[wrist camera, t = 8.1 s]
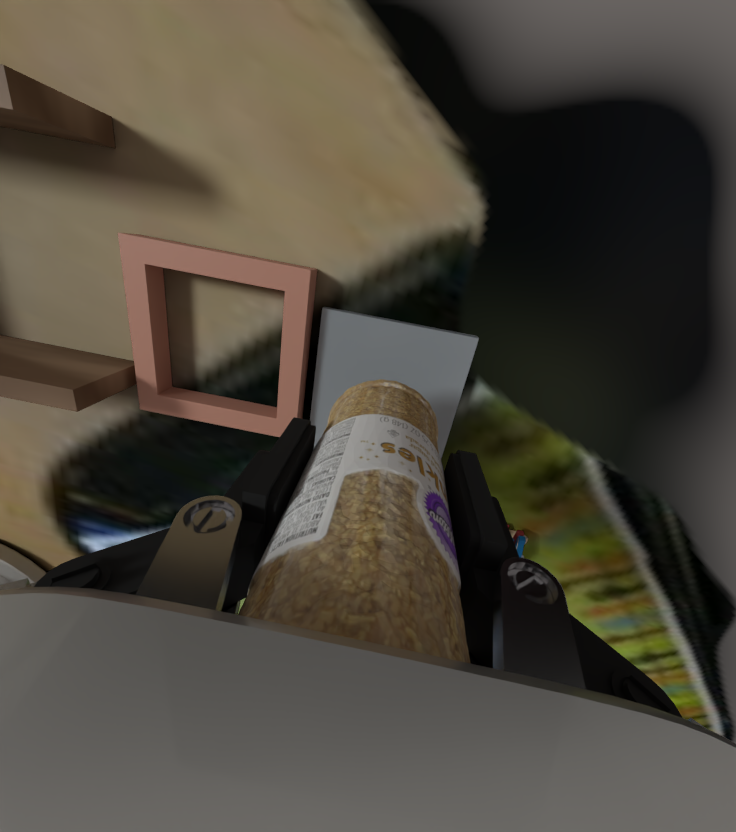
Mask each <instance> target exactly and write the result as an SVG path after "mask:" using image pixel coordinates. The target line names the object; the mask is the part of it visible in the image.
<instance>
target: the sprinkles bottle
mask: <svg viewBox="0 0 736 832" xmlns="http://www.w3.org/2000/svg"><path fill="white" fill-rule="evenodd" d="M437 440H438V425H437V419H436V415H435V413H434V411H433V409H432V408H431V406H430V403H429V402H428V401H427V400H426V399H425V398H424V397H423V396H422V395H421V394H420V393H419V392H418V391H416V390H415V389H412V388H410V387H408V386H407V385H404V384H402V383H399V382H397V381H390V380H383V379H379V380H374V381H366V382H363V383H360V384H357V385H356V386H353V387H351V388H349V389H347V390H346V391H345V392H344V393H343V395H341V396H340V397H339V398H338V399H337V401H336V402H335V403H334V405H333V407H332V409H331V411H330V414H329V418H328V425H327V427H326V429H325V431H324V433H323V435H322V437H321V438H320V439H319V441H318V442H317V444H316V446H315V448H314V450H313V452H312V454H311V456H310V458H309V460H308V462H307V464H306V466H305V468H304V471H303V473H302V475H301V477H300V479H299V481H298V483H297V485H296V487H295V490H294V492H293V494H292V496H291V498H290V500H289V503H288V505H287V507H286V509H285V511H284V513H283V515H282V517H281V519H280V521H279V523H278V526H277V528H276V530H275V532H274V534H273V536H272V538H271V540H270V542H269V544H268V546H267V548H266V550H265V552H264V554H263V556H262V558H261V560H260V563H259V565H258V567H257V569H256V571H255V573H254V575H253V577H252V580H251V583H250V585H249V589H248V594H247V597H246V599H245V601H244V603H243V606H242V607H241V609H240V612H239V614H238V615H241V616H246V617H250V618H255V619H260V620H265V621H270V622H275V623H280V624H285V625H290V626H295V627H299V628H304V629H309V630H314V631H319V632H323V633H328V634H333V635H338V636H343V637H347V638H352V639H357V640H362V641H366V642H371V643H376V644H381V645H385V646H390V647H395V648H400V649H404V650H409V651H414V652H419V653H423V654H428V655H433V656H437V657H442V658H447V659H451V660H456V661H461V662H465V663H470V658H469V651H468V646H467V642H466V633H465V625H464V618H463V612H462V607H461V600H460V596H459V593H460V589H461V580H460V574H459V568H458V561H457V555H456V549H455V543H454V537H453V531H452V524H451V518H450V512H449V505H448V498H447V491H446V485H445V478H444V471H443V466H442V462H441V459H440V456H439V451H438V444H437ZM470 664H471V663H470Z"/></svg>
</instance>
